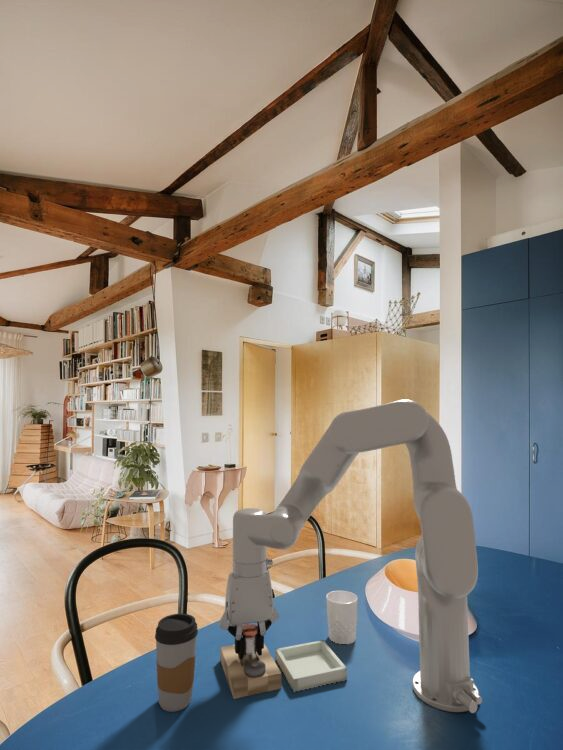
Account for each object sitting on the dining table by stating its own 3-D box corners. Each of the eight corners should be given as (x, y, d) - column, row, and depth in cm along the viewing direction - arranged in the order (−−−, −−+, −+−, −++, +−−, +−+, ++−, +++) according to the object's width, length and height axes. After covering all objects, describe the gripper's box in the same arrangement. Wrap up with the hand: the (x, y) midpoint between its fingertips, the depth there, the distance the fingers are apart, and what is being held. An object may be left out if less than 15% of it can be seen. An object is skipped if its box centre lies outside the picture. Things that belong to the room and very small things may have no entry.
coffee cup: (179, 683, 91) (180, 608, 93) (205, 699, 86) (206, 620, 87) (144, 703, 85) (146, 623, 86) (170, 722, 80) (172, 637, 81)
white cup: (357, 647, 105) (357, 604, 106) (325, 644, 106) (324, 602, 107) (358, 631, 113) (357, 591, 113) (328, 628, 114) (327, 589, 115)
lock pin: (260, 677, 93) (260, 630, 94) (242, 680, 92) (243, 633, 93) (255, 667, 97) (255, 622, 98) (238, 670, 96) (238, 625, 96)
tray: (347, 680, 92) (346, 668, 92) (293, 692, 88) (293, 679, 88) (323, 651, 103) (323, 640, 104) (275, 660, 100) (275, 649, 100)
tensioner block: (281, 688, 90) (281, 664, 90) (233, 698, 86) (233, 674, 87) (262, 652, 103) (262, 632, 103) (220, 660, 99) (220, 639, 100)
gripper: (279, 557, 103) (279, 639, 101) (209, 565, 97) (208, 652, 96) (290, 568, 96) (290, 656, 94) (215, 577, 90) (214, 671, 89)
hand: (249, 653), depth 95 cm, fingers closed on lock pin, 3 cm apart
